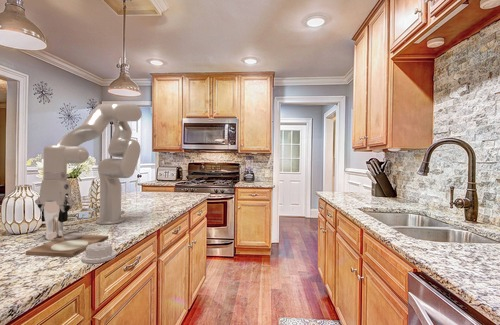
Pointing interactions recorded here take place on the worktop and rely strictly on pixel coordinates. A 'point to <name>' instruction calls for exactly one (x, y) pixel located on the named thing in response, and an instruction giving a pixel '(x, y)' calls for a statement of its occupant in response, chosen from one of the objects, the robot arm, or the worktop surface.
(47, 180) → the robot arm
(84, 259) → the mechanical component
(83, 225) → the worktop surface
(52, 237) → the beer glass
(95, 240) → the carrier plate
